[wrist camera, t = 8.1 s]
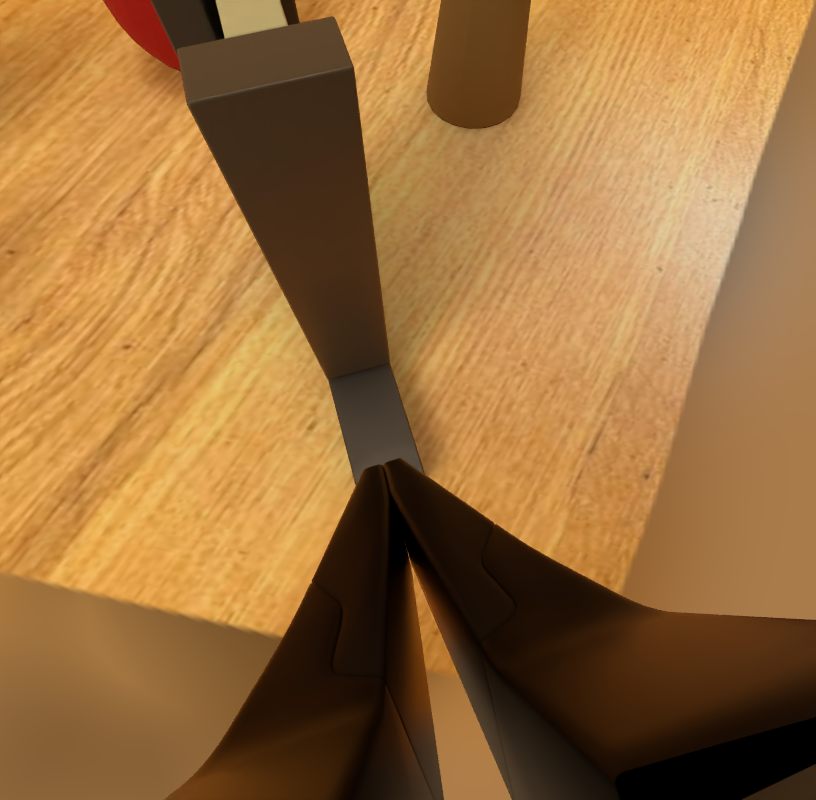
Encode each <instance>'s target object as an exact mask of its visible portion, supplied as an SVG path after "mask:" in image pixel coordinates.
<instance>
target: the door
mask: <svg viewBox="0 0 816 800" xmlns="http://www.w3.org/2000/svg"><path fill="white" fill-rule="evenodd" d="M216 4H217V8H218V12H219V16H220V20H221V24H222V29H223V33H224V37H225V39H220V40H216V41H211V42H206V43H201V44H196V45H191V46H187V47H182V48H179V49H178V50H177V53H178V59H179V64H180V69H181V75H182V80H183V86H184V91H185V96H186V102H187V105H188V107H189V109H190V111H191V113H192V115H193V117H194V119H195V121H196V123H197V125H198V127H199V129H200V131H201V133H202V135H203V137H204V139H205V141H206V143H207V145H208V146H209V148H210V150H211V152H212V154H213V156H214V158H215V160H216V162H217V164H218V166H219V168H220V170H221V172H222V174H223V176H224V178H225V180H226V182H227V184H228V186H229V188H230V189H231V191H232V193H233V195H234V197H235V199H236V201H237V203H238V205H239V207H240V209H241V211H242V213H243V215H244V217H245V219H246V221H247V223H248V225H249V227H250V229H251V231H252V232H253V234H254V236H255V238H256V240H257V242H258V244H259V246H260V248H261V250H262V252H263V254H264V256H265V258H266V260H267V262H268V264H269V266H270V268H271V270H272V272H273V274H274V275H275V277H276V279H277V281H278V283H279V285H280V287H281V289H282V291H283V293H284V295H285V297H286V299H287V301H288V303H289V305H290V307H291V309H292V311H293V313H294V315H295V317H296V318H297V320H298V322H299V324H300V326H301V328H302V330H303V332H304V334H305V336H306V338H307V340H308V342H309V344H310V346H311V348H312V350H313V352H314V354H315V356H316V358H317V360H318V361H319V363H320V365H321V367H322V369H323V371H324V373H325V375H326V377H327V379H332V378H336V377H339V376H343V375H346V374H350V373H353V372H357V371H361V370H364V369H368V368H371V367H375V366H378V365H382V364H386V363H389V362H390V358H389V350H388V341H387V333H386V325H385V317H384V309H383V301H382V292H381V284H380V276H379V268H378V260H377V252H376V243H375V235H374V227H373V219H372V211H371V203H370V194H369V186H368V178H367V170H366V162H365V154H364V145H363V137H362V129H361V121H360V113H359V105H358V96H357V88H356V80H355V72H354V67H353V64H352V61H351V59H350V56H349V53H348V51H347V48H346V45H345V43H344V40H343V37H342V35H341V32H340V30H339V27H338V24H337V22H336V19H335V17H327V18H322V19H317V20H312V21H308V22H303V23H298V24H293V25H288V23H287V20H286V17H285V14H284V11H283V8H282V5H281V1H280V0H216Z"/></svg>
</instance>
